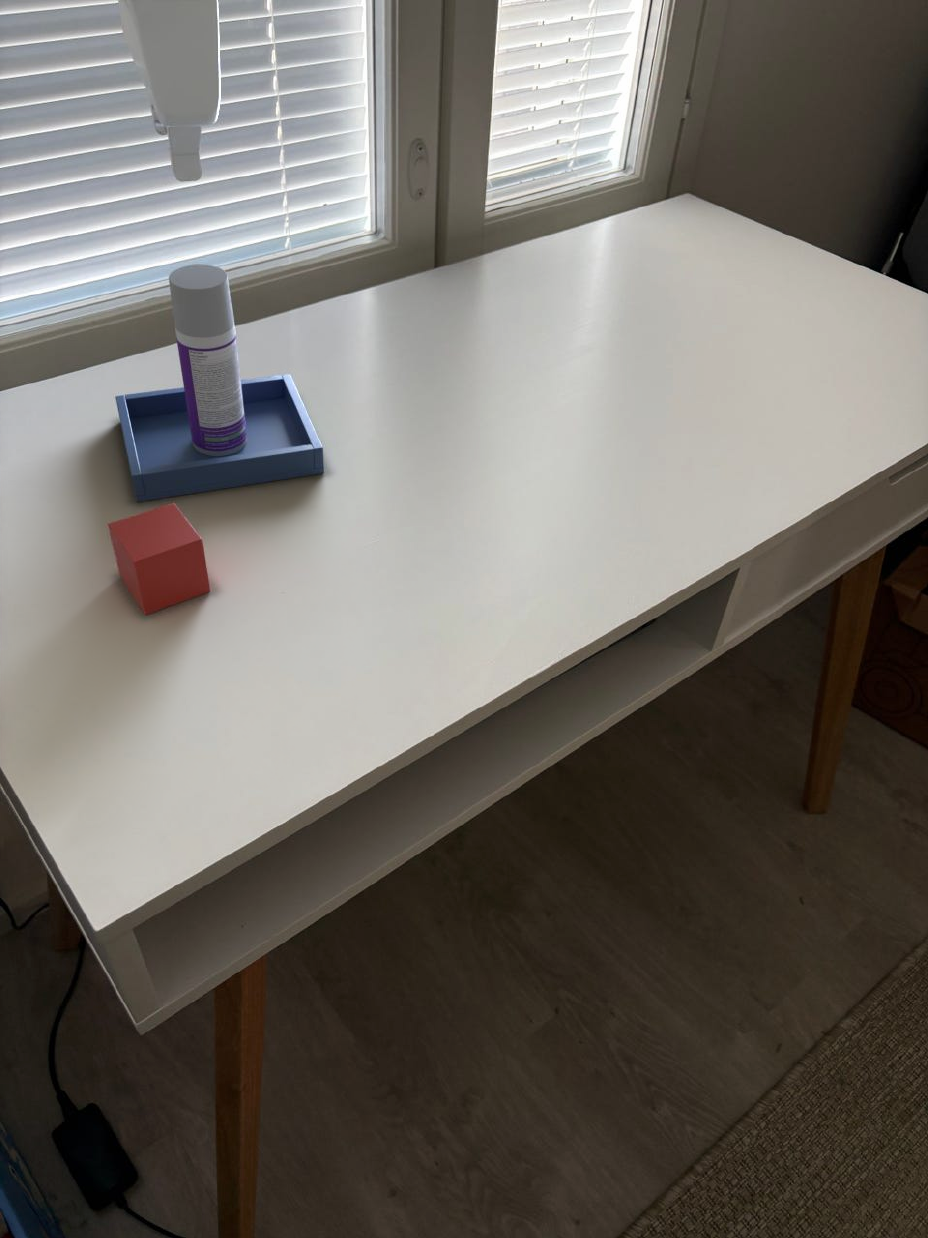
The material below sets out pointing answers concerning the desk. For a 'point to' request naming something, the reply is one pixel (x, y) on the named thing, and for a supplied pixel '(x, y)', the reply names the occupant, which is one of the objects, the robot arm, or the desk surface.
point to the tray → (177, 468)
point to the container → (208, 358)
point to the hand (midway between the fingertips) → (176, 153)
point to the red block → (159, 558)
